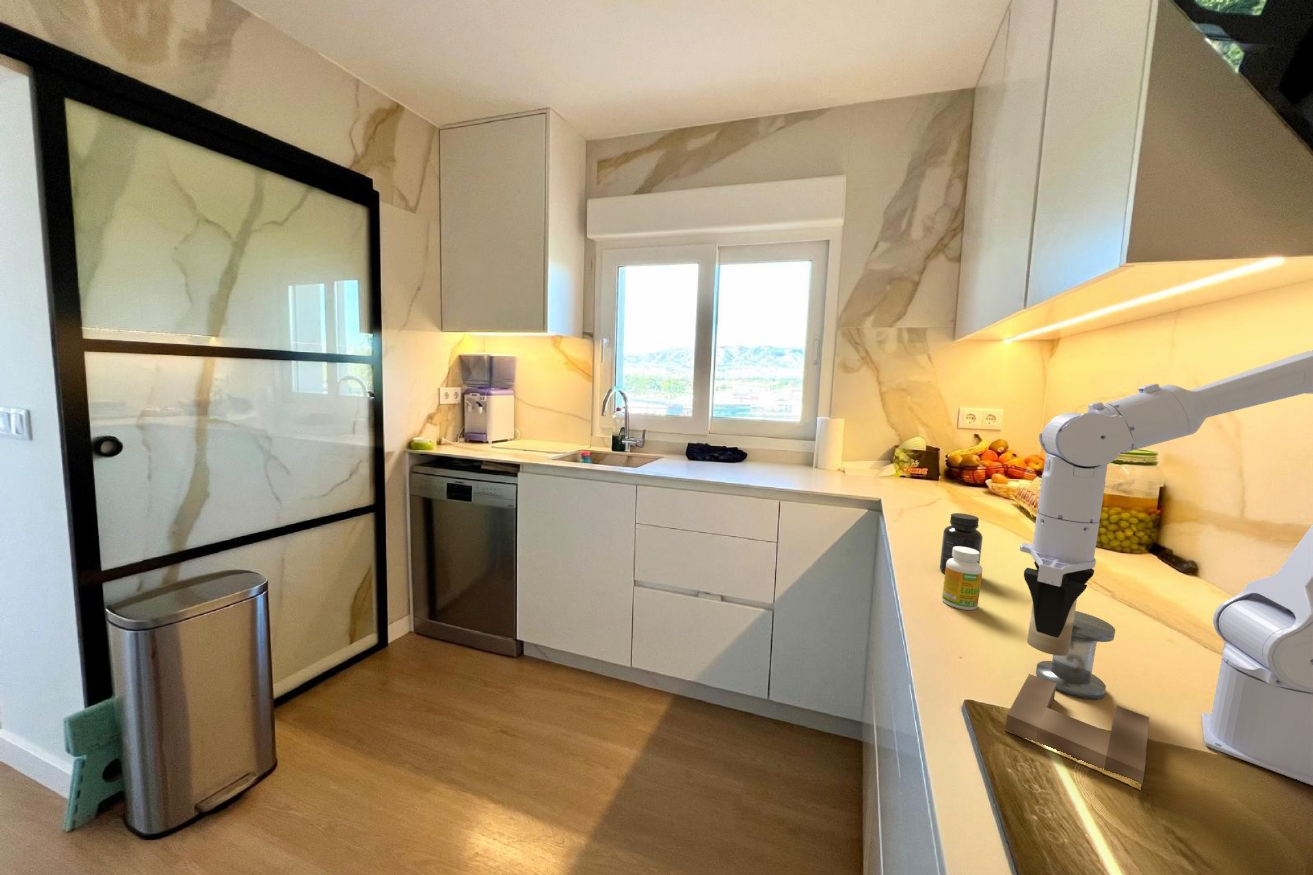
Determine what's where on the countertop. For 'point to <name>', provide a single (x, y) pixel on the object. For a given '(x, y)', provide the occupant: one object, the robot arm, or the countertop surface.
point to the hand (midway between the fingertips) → (1051, 627)
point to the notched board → (1080, 731)
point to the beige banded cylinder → (1051, 643)
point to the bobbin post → (1079, 659)
